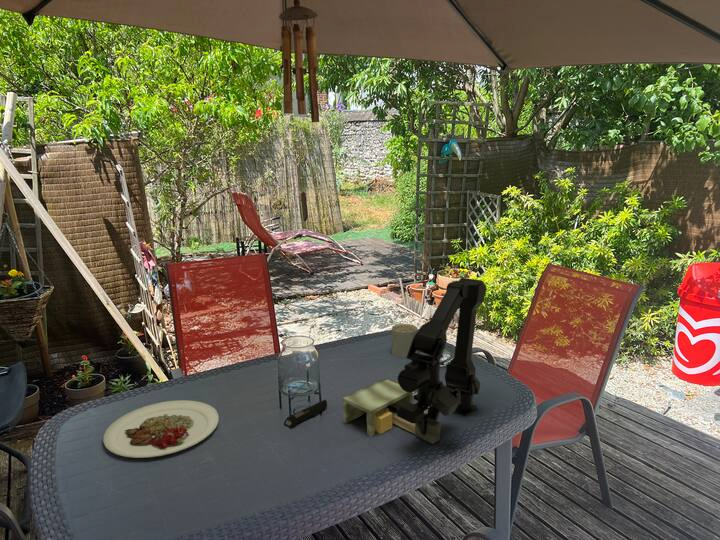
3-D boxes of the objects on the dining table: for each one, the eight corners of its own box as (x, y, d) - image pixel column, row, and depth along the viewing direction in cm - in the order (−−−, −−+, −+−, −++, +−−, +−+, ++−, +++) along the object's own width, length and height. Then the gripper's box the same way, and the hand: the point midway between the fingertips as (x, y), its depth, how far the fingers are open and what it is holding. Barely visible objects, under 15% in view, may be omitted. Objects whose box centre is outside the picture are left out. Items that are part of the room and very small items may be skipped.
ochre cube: (380, 422, 144) (380, 407, 143) (392, 427, 141) (392, 413, 140) (369, 428, 141) (369, 413, 140) (381, 434, 138) (381, 419, 137)
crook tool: (384, 413, 148) (384, 397, 147) (439, 439, 134) (440, 422, 133) (366, 422, 143) (366, 406, 142) (421, 450, 129) (422, 433, 128)
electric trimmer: (330, 410, 152) (330, 401, 152) (291, 430, 141) (291, 419, 140) (322, 406, 155) (321, 397, 154) (283, 425, 144) (282, 415, 143)
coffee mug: (400, 359, 189) (400, 333, 187) (386, 350, 197) (386, 326, 195) (429, 352, 195) (430, 327, 193) (415, 344, 203) (415, 320, 201)
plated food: (166, 398, 161) (165, 388, 160) (241, 418, 148) (240, 407, 147) (78, 446, 135) (77, 434, 134) (160, 475, 122) (159, 462, 121)
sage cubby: (384, 401, 156) (384, 378, 155) (412, 413, 149) (412, 389, 147) (343, 422, 144) (342, 397, 143) (371, 436, 137) (370, 411, 135)
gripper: (430, 400, 119) (429, 459, 123) (474, 376, 132) (472, 430, 135) (395, 385, 127) (395, 441, 131) (440, 364, 140) (439, 415, 143)
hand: (427, 432), depth 135 cm, fingers closed on crook tool, 3 cm apart
